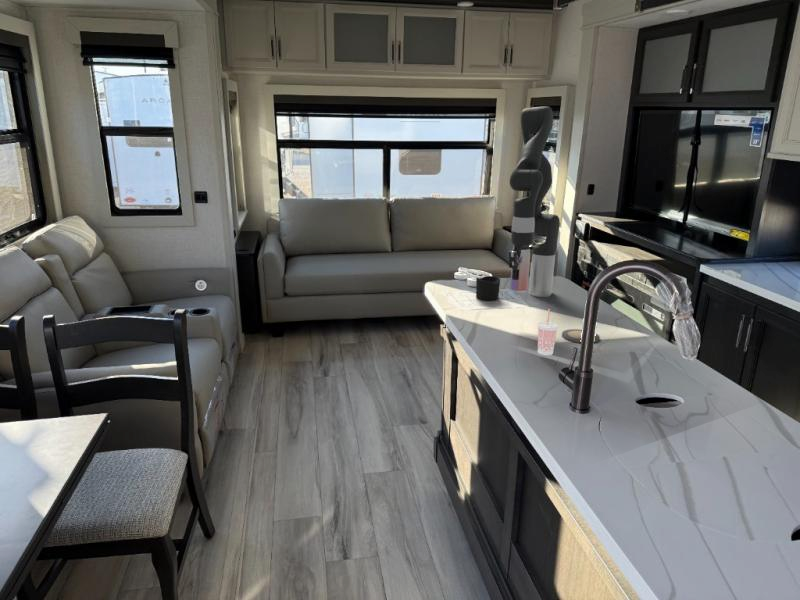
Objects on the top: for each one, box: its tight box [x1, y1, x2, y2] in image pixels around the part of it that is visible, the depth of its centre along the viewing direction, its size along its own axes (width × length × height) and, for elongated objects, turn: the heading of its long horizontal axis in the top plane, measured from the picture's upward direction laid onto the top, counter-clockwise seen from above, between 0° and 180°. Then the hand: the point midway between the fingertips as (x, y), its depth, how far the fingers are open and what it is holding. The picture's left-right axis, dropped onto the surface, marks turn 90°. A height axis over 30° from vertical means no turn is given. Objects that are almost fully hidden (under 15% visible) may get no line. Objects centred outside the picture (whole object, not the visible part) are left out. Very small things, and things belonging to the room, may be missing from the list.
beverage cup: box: [536, 308, 559, 356], centre depth 171 cm, size 6×6×14 cm
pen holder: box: [475, 275, 501, 302], centre depth 224 cm, size 9×9×10 cm
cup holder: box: [454, 267, 493, 288], centre depth 247 cm, size 20×11×7 cm, turn 25°
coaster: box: [561, 328, 601, 344], centre depth 187 cm, size 12×12×1 cm
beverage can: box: [509, 247, 531, 293], centre depth 193 cm, size 6×6×15 cm
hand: (519, 277), depth 194 cm, fingers closed on beverage can, 6 cm apart
